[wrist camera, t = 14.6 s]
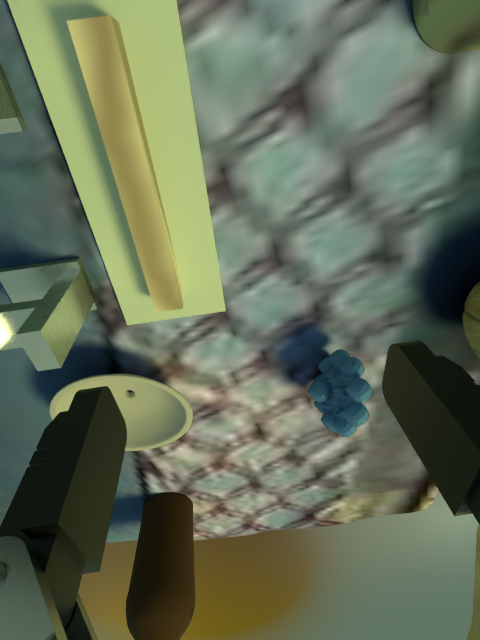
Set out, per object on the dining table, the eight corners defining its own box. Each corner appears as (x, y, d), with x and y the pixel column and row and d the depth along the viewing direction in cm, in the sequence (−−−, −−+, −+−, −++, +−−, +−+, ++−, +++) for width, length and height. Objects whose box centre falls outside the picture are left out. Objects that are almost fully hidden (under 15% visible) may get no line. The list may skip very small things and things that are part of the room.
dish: (67, 419, 50) (55, 449, 45) (57, 342, 42) (42, 370, 38) (187, 425, 53) (186, 453, 49) (199, 355, 45) (199, 381, 41)
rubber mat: (170, -39, 24) (169, -42, 24) (225, 308, 41) (225, 310, 41) (3, -18, 24) (-1, -20, 24) (128, 322, 41) (127, 325, 41)
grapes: (307, 325, 44) (338, 393, 34) (355, 329, 45) (398, 395, 35) (286, 388, 50) (307, 461, 41) (329, 390, 52) (359, 461, 42)
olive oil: (171, 483, 61) (157, 681, 41) (207, 505, 67) (210, 689, 46) (128, 505, 64) (94, 700, 44) (165, 524, 70) (151, 706, 49)
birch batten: (119, 22, 25) (110, 15, 23) (183, 294, 39) (182, 308, 37) (79, 27, 25) (66, 20, 23) (158, 298, 39) (155, 312, 37)
